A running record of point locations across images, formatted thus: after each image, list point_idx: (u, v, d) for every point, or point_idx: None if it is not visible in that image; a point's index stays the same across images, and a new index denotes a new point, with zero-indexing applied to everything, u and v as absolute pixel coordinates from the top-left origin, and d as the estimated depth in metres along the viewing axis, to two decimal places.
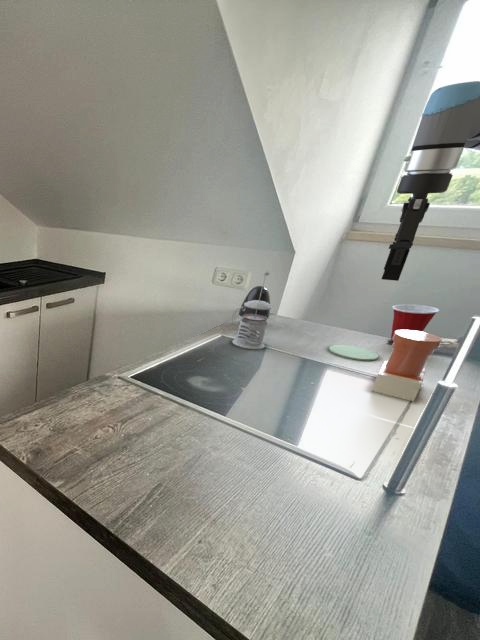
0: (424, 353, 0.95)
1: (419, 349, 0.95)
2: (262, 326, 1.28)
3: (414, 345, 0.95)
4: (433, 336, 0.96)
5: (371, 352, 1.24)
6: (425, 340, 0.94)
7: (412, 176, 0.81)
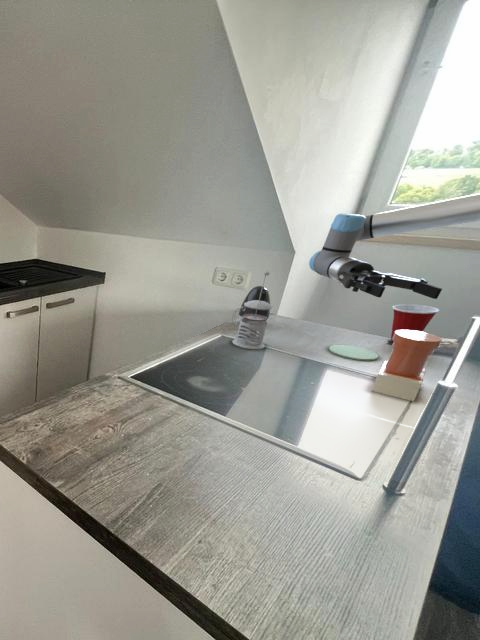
0: (424, 353, 0.95)
1: (419, 349, 0.95)
2: (262, 326, 1.28)
3: (414, 345, 0.95)
4: (433, 336, 0.96)
5: (371, 352, 1.24)
6: (425, 340, 0.94)
7: None
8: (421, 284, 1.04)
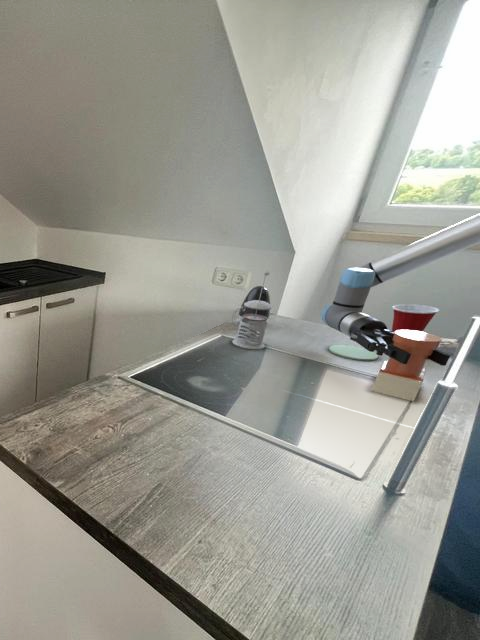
0: (424, 353, 0.95)
1: (419, 349, 0.95)
2: (262, 326, 1.28)
3: (414, 345, 0.95)
4: (433, 336, 0.96)
5: (371, 352, 1.24)
6: (425, 340, 0.94)
7: (351, 335, 1.16)
8: None
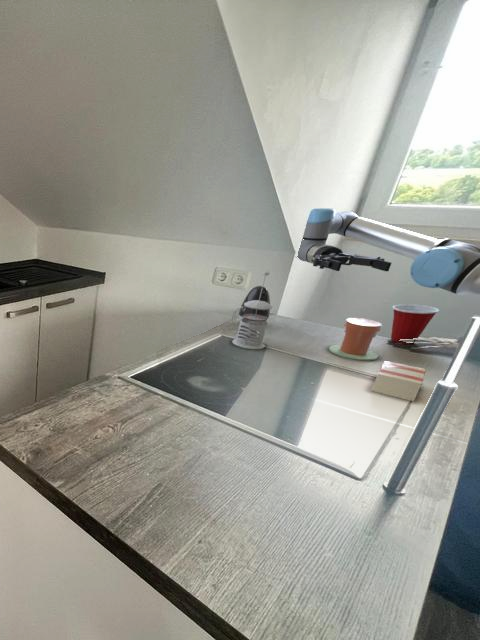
0: (368, 336, 1.19)
1: (364, 332, 1.19)
2: (262, 326, 1.28)
3: (360, 329, 1.19)
4: (375, 322, 1.20)
5: (371, 352, 1.24)
6: (368, 325, 1.18)
7: None
8: (377, 260, 1.25)
